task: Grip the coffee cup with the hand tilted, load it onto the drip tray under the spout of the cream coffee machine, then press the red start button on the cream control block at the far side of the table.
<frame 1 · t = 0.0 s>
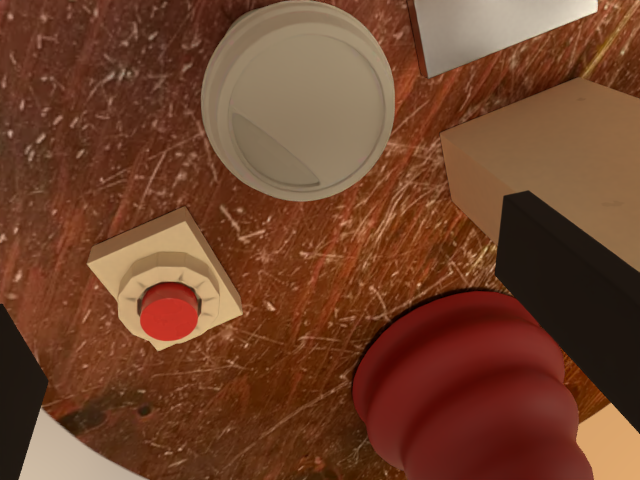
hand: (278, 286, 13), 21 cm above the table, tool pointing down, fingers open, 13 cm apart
control block: (171, 273, 36), on the table
brew button: (169, 311, 33), point 4 cm above the table, slide at 0.1 cm
table lamp: (445, 366, 49), on the table
coffee cup: (268, 59, 30), on the table
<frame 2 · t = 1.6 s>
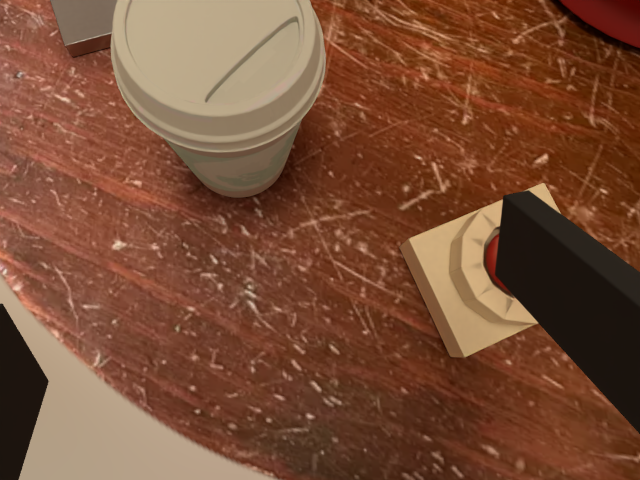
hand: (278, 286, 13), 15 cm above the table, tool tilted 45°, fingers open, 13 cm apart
control block: (489, 271, 30), on the table
brew button: (526, 257, 25), point 4 cm above the table, slide at 0.1 cm
coffee cup: (239, 153, 30), on the table
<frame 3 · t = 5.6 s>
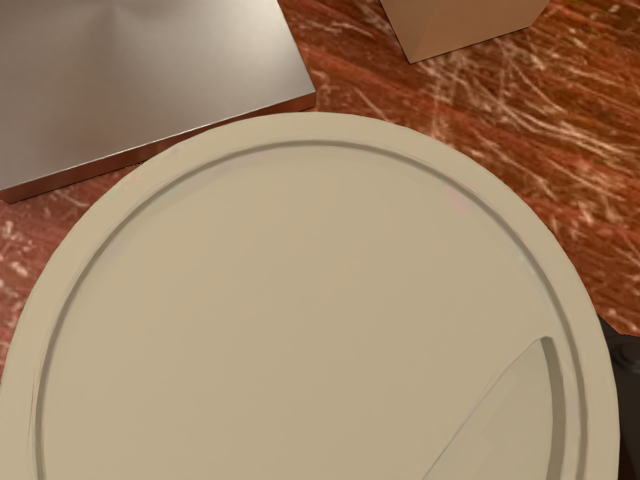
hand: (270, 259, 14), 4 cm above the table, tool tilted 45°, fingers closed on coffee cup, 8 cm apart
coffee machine: (123, 23, 20), on the table
coffee cup: (291, 368, 18), on the table, touching gripper
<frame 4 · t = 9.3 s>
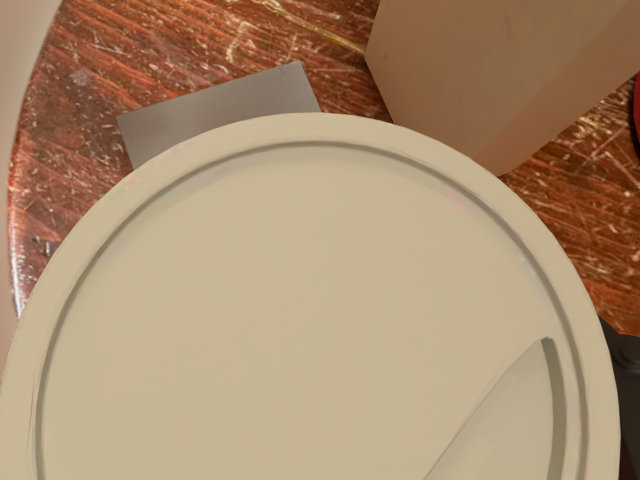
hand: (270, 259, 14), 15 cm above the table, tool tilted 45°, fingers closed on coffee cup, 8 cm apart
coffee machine: (244, 178, 31), on the table
coffee cup: (291, 368, 18), point 11 cm above the table, touching gripper
when the fingers open (5 cm above the table, at t = 13.2 s): coffee cup stays where it is, resting on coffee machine.
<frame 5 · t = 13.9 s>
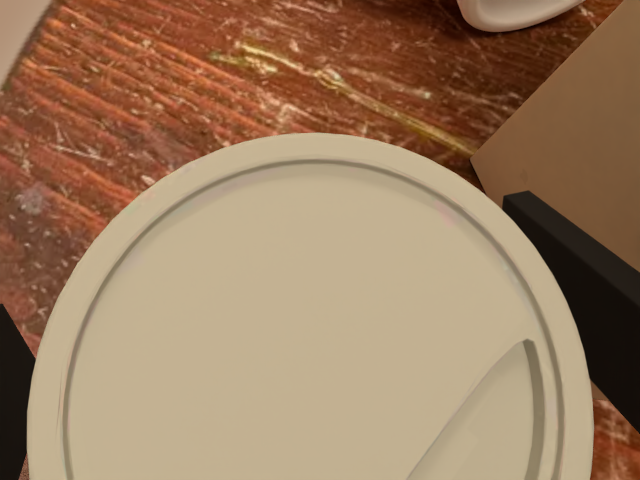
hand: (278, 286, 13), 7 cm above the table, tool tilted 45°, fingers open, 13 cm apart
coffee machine: (291, 366, 19), on the table
coffee cup: (293, 369, 18), point 1 cm above the table, touching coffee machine
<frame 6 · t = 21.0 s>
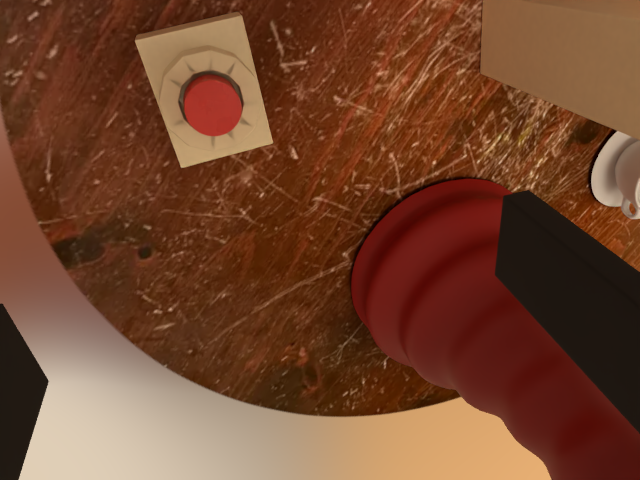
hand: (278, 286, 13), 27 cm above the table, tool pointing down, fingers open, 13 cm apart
control block: (207, 88, 36), on the table
brew button: (212, 105, 32), point 4 cm above the table, slide at 0.1 cm
table lamp: (440, 264, 51), on the table
teacup: (629, 159, 50), on the table
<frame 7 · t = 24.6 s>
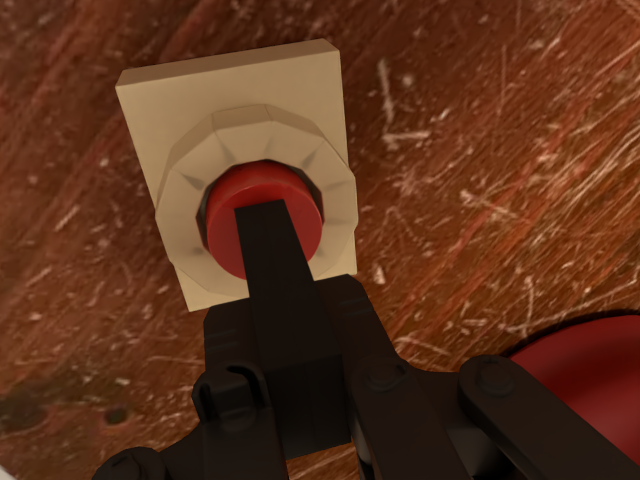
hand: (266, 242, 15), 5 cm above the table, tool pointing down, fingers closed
control block: (249, 171, 19), on the table
brew button: (262, 222, 16), point 4 cm above the table, slide at -0.3 cm, touching gripper
table lamp: (555, 418, 34), on the table
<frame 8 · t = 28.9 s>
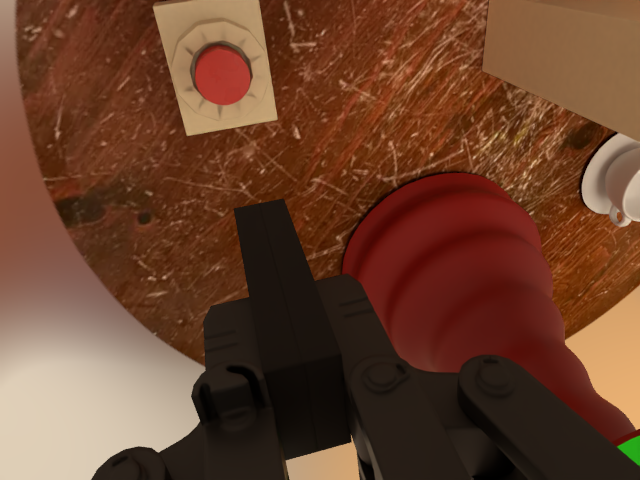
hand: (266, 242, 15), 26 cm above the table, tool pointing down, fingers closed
control block: (218, 61, 37), on the table
brew button: (222, 75, 33), point 4 cm above the table, slide at 0.1 cm
table lamp: (430, 256, 52), on the table
teacup: (620, 169, 52), on the table
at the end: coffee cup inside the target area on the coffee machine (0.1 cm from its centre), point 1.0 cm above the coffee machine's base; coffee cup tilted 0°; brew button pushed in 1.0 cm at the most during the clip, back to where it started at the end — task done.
